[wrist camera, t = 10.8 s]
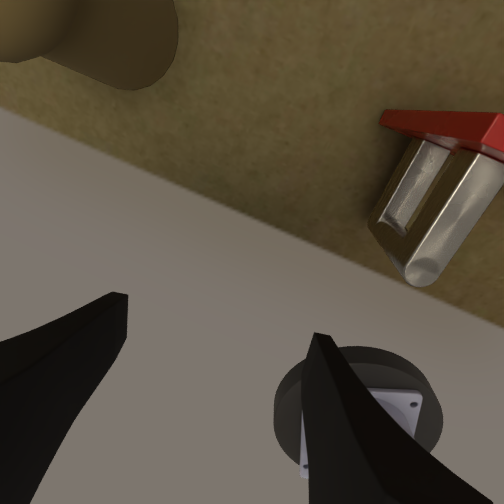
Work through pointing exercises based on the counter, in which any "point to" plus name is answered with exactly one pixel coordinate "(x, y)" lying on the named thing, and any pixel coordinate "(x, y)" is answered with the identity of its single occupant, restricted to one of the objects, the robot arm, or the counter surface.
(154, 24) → the brown pawn figure
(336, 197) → the counter surface
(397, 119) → the valve door
